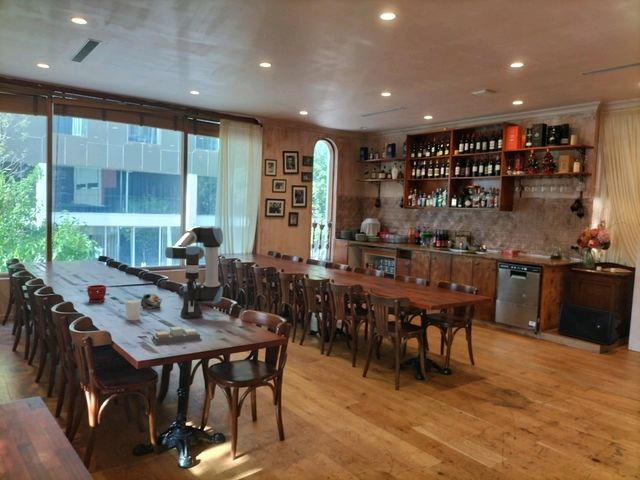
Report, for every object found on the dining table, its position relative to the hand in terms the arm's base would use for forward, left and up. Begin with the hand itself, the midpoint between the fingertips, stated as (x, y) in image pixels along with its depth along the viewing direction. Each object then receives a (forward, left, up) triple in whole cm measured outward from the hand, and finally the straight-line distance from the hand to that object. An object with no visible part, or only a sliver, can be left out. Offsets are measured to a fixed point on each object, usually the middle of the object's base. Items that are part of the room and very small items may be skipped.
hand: (191, 311), depth 288 cm
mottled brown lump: (-90, -4, -17) cm, 91 cm away
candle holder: (-59, -22, -16) cm, 65 cm away
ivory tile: (0, 0, -15) cm, 15 cm away
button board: (0, -8, -16) cm, 18 cm away
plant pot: (-125, -38, -16) cm, 131 cm away
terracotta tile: (0, -16, -15) cm, 22 cm away
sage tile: (0, -8, -13) cm, 16 cm away
